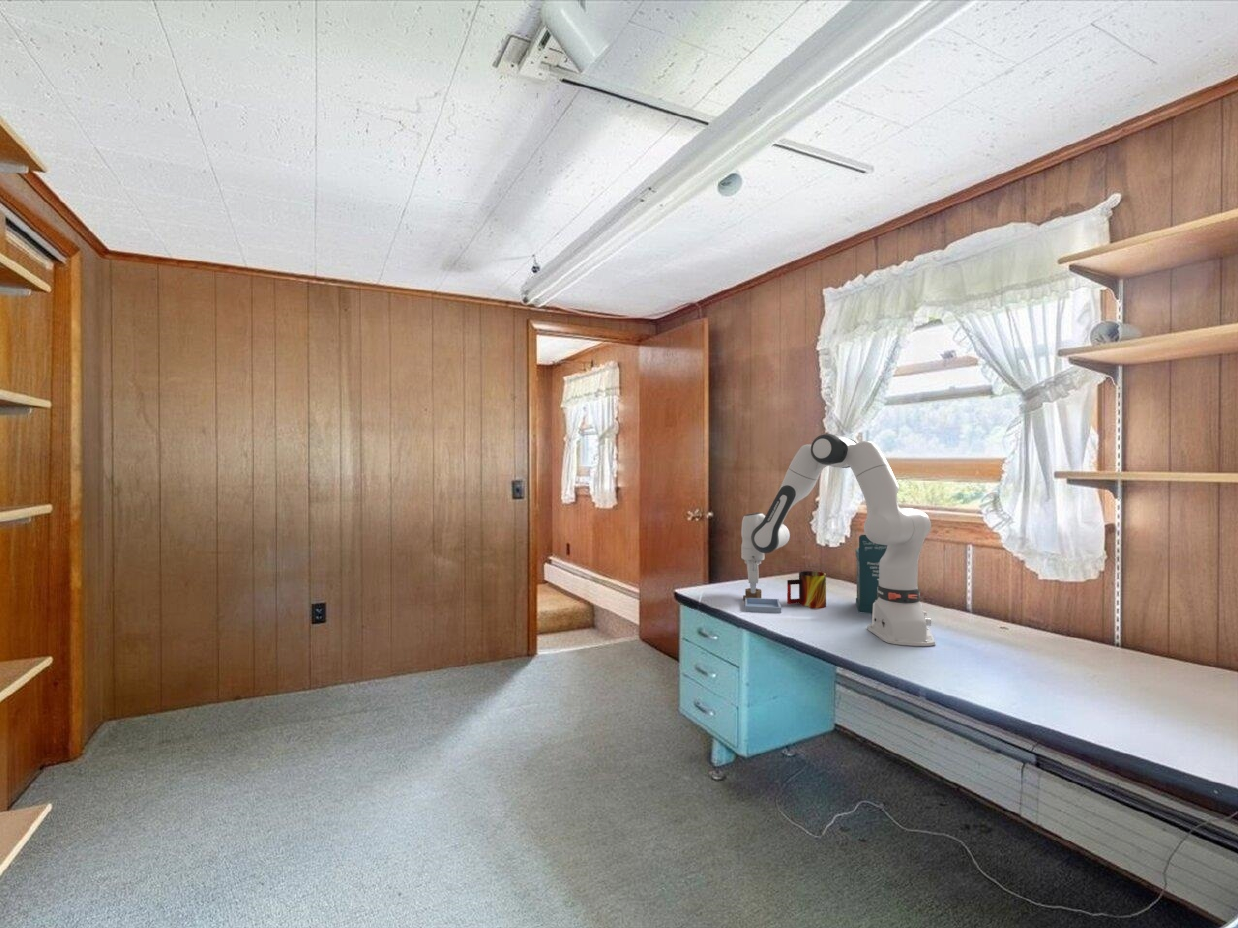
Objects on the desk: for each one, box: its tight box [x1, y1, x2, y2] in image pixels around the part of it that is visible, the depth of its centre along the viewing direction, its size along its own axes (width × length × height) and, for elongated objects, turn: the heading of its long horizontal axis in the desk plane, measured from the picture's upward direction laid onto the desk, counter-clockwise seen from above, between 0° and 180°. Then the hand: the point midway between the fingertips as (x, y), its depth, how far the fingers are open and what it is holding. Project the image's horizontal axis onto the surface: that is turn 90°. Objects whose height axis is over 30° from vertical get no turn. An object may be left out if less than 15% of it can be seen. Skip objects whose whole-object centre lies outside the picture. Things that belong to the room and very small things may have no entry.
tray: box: [744, 597, 782, 614], centre depth 213 cm, size 12×12×2 cm
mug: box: [786, 570, 827, 609], centre depth 217 cm, size 10×14×12 cm
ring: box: [742, 587, 762, 601], centre depth 224 cm, size 6×7×4 cm
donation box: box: [855, 534, 888, 614], centre depth 213 cm, size 16×16×28 cm
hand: (752, 589), depth 224 cm, fingers open, 8 cm apart
